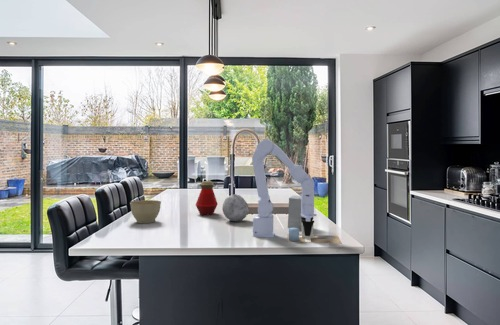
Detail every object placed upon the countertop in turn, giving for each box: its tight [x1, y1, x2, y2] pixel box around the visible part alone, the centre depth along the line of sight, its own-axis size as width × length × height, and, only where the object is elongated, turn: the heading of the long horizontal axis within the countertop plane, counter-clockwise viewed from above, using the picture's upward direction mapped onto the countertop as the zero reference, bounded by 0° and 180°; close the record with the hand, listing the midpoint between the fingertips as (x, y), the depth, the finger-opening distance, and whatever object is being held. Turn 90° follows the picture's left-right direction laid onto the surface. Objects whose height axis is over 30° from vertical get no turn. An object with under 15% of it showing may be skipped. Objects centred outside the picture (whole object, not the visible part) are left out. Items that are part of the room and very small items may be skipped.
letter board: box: [286, 233, 342, 244], centre depth 158 cm, size 23×14×1 cm, turn 83°
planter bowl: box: [129, 199, 162, 224], centre depth 195 cm, size 16×16×11 cm
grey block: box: [301, 224, 314, 238], centre depth 161 cm, size 5×5×6 cm
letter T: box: [299, 236, 318, 243], centre depth 158 cm, size 9×10×1 cm
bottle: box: [195, 180, 218, 216], centre depth 219 cm, size 16×14×20 cm
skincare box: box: [287, 195, 302, 230], centre depth 182 cm, size 8×7×16 cm
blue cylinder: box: [288, 228, 300, 243], centre depth 155 cm, size 4×4×5 cm
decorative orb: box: [221, 193, 250, 222], centre depth 198 cm, size 15×14×15 cm
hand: (307, 234), depth 162 cm, fingers closed on grey block, 5 cm apart
